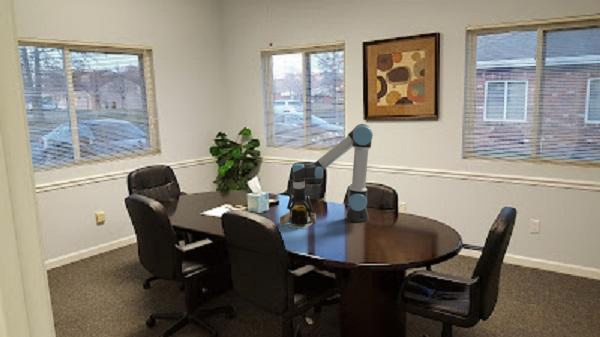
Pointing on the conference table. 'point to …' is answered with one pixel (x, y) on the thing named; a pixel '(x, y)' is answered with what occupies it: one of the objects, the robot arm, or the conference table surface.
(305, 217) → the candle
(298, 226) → the pad
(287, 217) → the arena
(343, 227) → the conference table surface
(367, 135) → the robot arm
